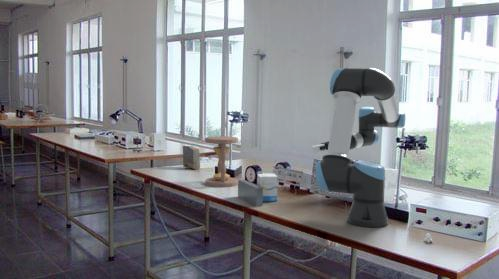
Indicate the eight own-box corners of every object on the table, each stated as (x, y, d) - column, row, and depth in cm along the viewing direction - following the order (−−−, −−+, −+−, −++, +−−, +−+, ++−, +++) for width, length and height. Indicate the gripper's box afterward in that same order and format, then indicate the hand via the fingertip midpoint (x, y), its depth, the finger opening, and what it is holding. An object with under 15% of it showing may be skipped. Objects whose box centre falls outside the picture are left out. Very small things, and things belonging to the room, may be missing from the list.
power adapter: (431, 242, 160) (431, 233, 159) (433, 244, 157) (434, 235, 157) (422, 241, 160) (422, 232, 159) (424, 244, 157) (425, 235, 157)
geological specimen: (200, 169, 297) (200, 146, 295) (192, 170, 293) (192, 146, 291) (189, 167, 305) (189, 144, 303) (182, 168, 300) (182, 145, 299)
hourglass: (236, 187, 243) (237, 139, 240) (203, 187, 243) (203, 139, 241) (238, 181, 260) (238, 136, 258) (207, 180, 261) (207, 136, 258)
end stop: (266, 205, 206) (266, 187, 206) (256, 206, 204) (256, 188, 203) (247, 195, 224) (247, 179, 224) (237, 196, 222) (238, 180, 221)
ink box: (277, 201, 214) (277, 176, 212) (259, 201, 213) (259, 176, 211) (274, 197, 222) (274, 173, 221) (256, 197, 221) (256, 173, 220)
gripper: (361, 150, 225) (322, 158, 213) (343, 147, 236) (305, 155, 224) (360, 134, 223) (321, 142, 212) (342, 132, 235) (304, 140, 223)
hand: (313, 149), depth 218 cm, fingers closed
